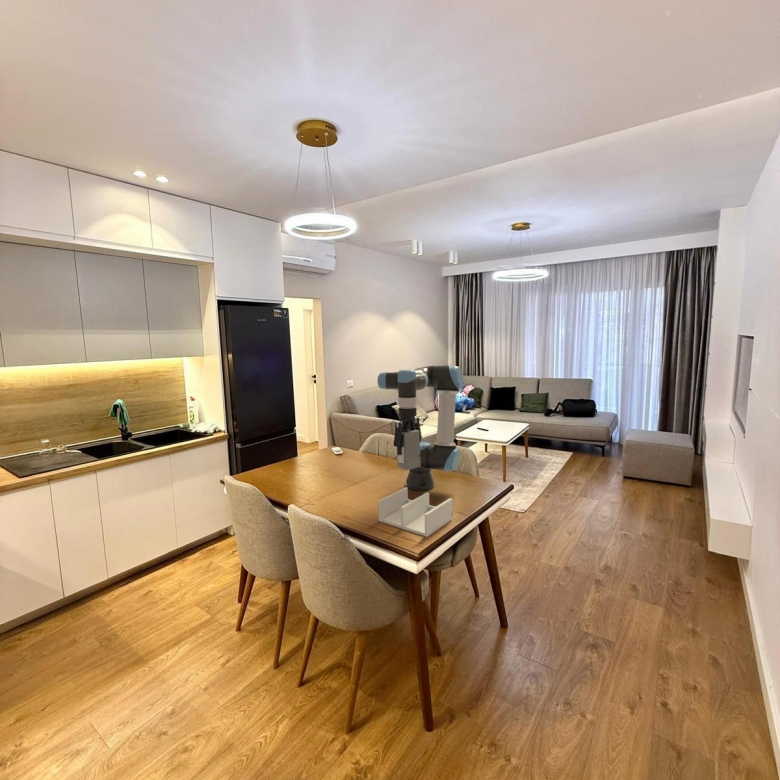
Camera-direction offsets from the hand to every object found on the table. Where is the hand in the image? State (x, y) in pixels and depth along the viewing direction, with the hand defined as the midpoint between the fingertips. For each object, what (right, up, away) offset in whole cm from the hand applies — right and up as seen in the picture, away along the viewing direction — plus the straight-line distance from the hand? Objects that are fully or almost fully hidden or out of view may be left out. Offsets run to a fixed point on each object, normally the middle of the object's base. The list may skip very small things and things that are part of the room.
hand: (408, 459), depth 172 cm
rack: (+3, -27, +5) cm, 28 cm away
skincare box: (0, -3, 0) cm, 3 cm away
